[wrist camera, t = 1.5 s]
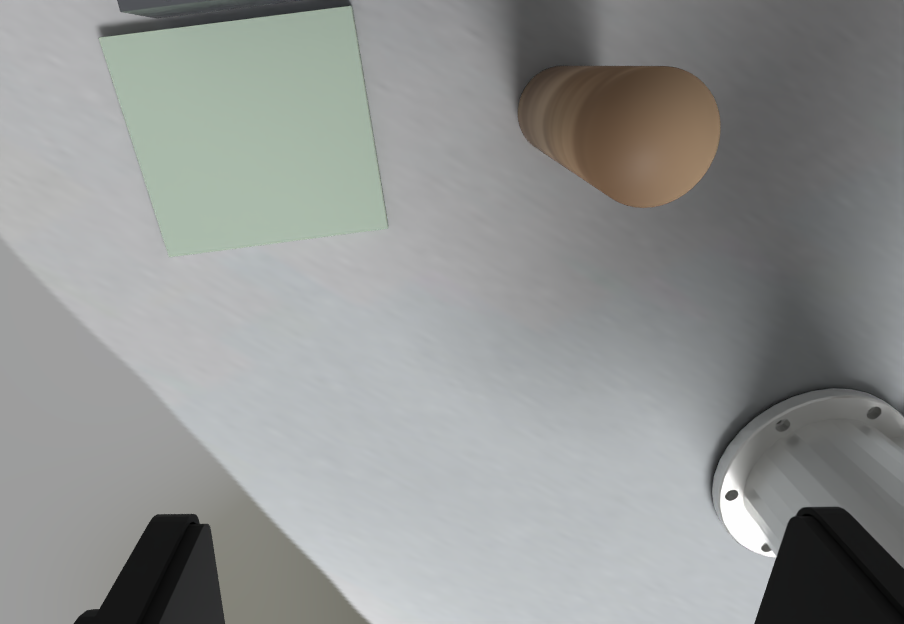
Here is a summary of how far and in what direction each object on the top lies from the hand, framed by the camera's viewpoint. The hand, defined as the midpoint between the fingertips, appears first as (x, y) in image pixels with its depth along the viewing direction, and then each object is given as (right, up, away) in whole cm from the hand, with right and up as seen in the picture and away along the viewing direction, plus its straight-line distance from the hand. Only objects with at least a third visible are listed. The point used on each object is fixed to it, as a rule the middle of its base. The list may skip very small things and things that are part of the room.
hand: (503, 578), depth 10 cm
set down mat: (-10, +13, +18) cm, 24 cm away
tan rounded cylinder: (+4, +14, +19) cm, 24 cm away
